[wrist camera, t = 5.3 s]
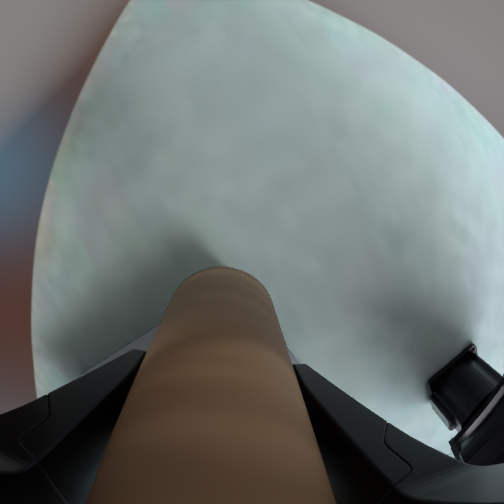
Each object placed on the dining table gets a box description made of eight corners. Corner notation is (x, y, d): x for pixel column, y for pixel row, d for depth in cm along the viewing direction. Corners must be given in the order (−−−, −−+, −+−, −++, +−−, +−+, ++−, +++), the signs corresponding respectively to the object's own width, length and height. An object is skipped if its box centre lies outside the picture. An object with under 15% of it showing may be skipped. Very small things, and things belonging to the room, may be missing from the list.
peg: (236, 245, 11) (266, 580, 1) (292, 328, 12) (388, 581, 2) (150, 301, 11) (21, 549, 1) (210, 374, 12) (196, 612, 2)
